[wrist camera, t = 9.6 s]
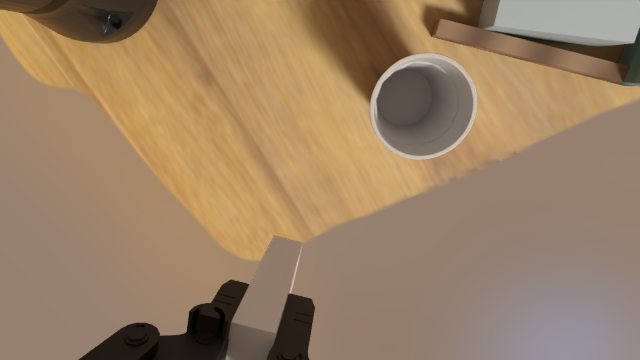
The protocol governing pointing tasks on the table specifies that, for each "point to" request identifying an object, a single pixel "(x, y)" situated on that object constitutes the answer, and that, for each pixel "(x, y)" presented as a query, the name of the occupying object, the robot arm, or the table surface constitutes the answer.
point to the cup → (423, 106)
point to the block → (564, 20)
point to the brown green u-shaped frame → (546, 53)
